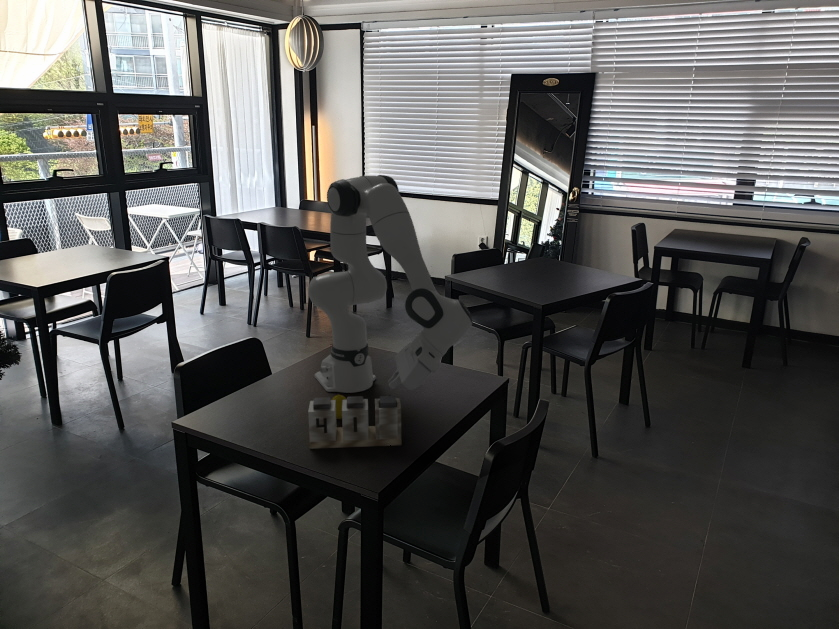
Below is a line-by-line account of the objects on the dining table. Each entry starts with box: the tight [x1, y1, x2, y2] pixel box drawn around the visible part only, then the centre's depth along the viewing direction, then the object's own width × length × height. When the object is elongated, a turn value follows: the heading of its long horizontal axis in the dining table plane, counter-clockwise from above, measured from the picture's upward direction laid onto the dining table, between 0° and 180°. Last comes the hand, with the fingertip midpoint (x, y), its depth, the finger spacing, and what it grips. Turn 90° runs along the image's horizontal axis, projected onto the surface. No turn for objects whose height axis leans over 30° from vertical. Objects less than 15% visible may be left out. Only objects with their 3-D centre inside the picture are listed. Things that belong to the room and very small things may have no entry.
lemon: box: [331, 393, 347, 420], centre depth 191 cm, size 6×6×8 cm
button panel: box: [307, 395, 403, 450], centre depth 179 cm, size 25×9×12 cm, turn 95°
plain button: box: [379, 395, 397, 408], centre depth 179 cm, size 4×4×6 cm
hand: (390, 385), depth 177 cm, fingers closed
